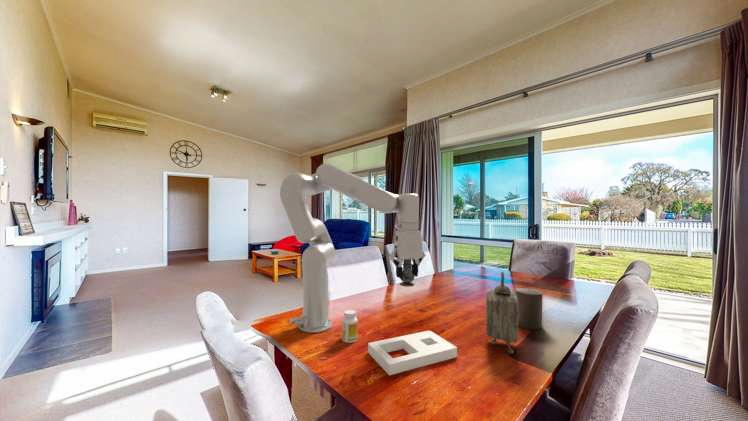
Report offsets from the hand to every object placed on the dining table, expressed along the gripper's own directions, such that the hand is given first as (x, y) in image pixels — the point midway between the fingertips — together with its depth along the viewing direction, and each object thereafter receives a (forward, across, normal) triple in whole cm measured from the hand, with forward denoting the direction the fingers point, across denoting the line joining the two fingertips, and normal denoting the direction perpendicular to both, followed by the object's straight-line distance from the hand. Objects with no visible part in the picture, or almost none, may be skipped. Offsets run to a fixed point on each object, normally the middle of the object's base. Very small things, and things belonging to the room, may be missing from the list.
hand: (407, 276), depth 107 cm
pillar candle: (+21, +50, -13) cm, 56 cm away
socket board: (+21, -6, -14) cm, 26 cm away
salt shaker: (+3, 0, 0) cm, 3 cm away
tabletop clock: (+21, +24, -21) cm, 39 cm away
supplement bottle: (+22, -20, +5) cm, 30 cm away
